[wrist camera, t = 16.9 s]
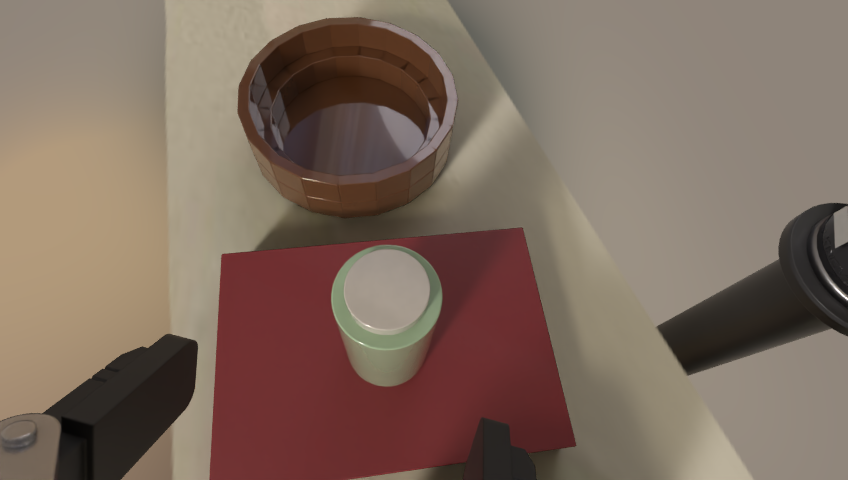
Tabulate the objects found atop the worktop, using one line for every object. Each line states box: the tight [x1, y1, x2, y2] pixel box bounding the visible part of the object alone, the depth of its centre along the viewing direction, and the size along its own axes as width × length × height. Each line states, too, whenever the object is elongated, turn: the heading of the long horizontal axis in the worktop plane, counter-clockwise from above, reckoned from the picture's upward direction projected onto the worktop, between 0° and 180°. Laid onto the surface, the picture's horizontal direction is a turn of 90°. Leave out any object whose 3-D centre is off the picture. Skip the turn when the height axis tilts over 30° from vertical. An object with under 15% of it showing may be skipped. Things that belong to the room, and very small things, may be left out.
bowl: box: [237, 17, 458, 218], centre depth 37 cm, size 16×16×5 cm
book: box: [210, 228, 576, 480], centre depth 30 cm, size 20×14×3 cm
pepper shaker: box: [331, 245, 443, 387], centre depth 24 cm, size 5×5×10 cm
